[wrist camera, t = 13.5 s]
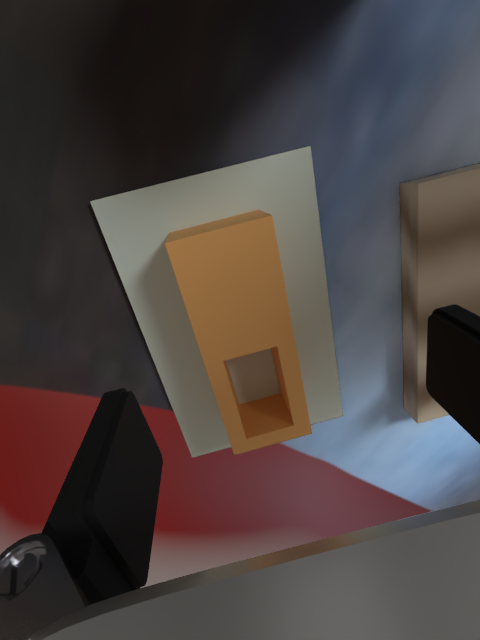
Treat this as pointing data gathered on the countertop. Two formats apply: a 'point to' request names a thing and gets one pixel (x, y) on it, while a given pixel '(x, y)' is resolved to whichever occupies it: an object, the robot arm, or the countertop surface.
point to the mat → (167, 303)
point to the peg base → (436, 267)
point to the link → (241, 321)
